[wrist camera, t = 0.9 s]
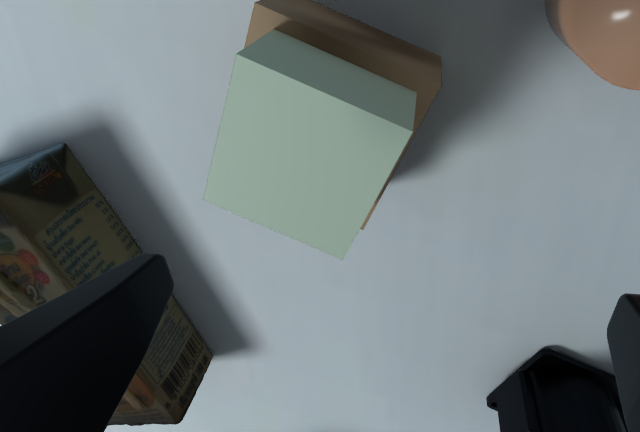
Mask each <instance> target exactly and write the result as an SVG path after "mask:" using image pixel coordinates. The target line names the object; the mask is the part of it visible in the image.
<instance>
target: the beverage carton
mask: <svg viewBox="0 0 640 432" xmlns="http://www.w3.org/2000/svg"><path fill="white" fill-rule="evenodd" d="M140 254H142V251H141V250H140V249H139V247H138V246H137V244H136V243H135V241H134V240H133V238H132V237H131V235H130V234H129V232H128V231H127V230H126V228H125V227H124V225H123V224H122V222H121V221H120V219H119V218H118V216H117V215H116V214H115V212H114V211H113V210H112V208H111V207H110V205H109V204H108V202H107V200H106V199H105V198H104V196H103V195H102V194H101V192H100V191H99V190H98V188H97V187H96V186H95V184H94V183H93V182H92V180H91V179H90V178H89V176H88V175H87V173H86V172H85V170H84V169H83V168H82V166H81V165H80V163H79V162H78V161H77V159H76V158H75V157H74V155H73V154H72V152H71V151H70V149H69V148H68V146H67V145H66V144H65V143H60V144H58V145H55V146H53V147H51V148H48V149H45V150H43V151H40V152H37V153H34V154H31V155H28V156H25V157H21V158H18V159H15V160H12V161H9V162H6V163H3V164H0V324H1V325H4V324H6V323H8V322H10V321H12V320H14V319H16V318H18V317H20V316H21V315H23V314H25V313H27V312H29V311H31V310H33V309H35V308H37V307H39V306H41V305H43V304H45V303H47V302H49V301H51V300H53V299H54V298H56V297H58V296H60V295H62V294H64V293H66V292H68V291H70V290H72V289H74V288H76V287H78V286H80V285H82V284H84V283H85V282H87V281H89V280H91V279H93V278H95V277H97V276H99V275H101V274H103V273H105V272H107V271H109V270H111V269H113V268H115V267H116V266H118V265H120V264H122V263H124V262H126V261H128V260H130V259H132V258H134V257H136V256H138V255H140ZM212 357H213V355H212V354H211V353H210V351H209V350H208V348H207V346H206V345H205V343H204V342H203V340H202V339H201V338H200V336H199V335H198V333H197V332H196V330H195V329H194V327H193V326H192V325H191V323H190V322H189V320H188V319H187V317H186V316H185V314H184V313H183V311H182V310H181V308H180V307H179V305H178V304H177V303H176V301H175V300H174V298H173V297H172V295H171V297H170V299H169V301H168V304H167V306H166V309H165V311H164V313H163V316H162V318H161V321H160V323H159V325H158V328H157V330H156V332H155V335H154V337H153V340H152V342H151V344H150V346H149V349H148V351H147V353H146V355H145V357H144V359H143V361H142V363H141V364H140V366H139V368H138V370H137V372H136V374H135V375H134V377H133V379H132V381H131V383H130V385H129V387H128V388H127V390H126V392H125V394H124V396H123V398H122V399H121V401H120V403H119V405H118V407H117V409H116V410H115V412H114V414H113V416H112V418H111V420H110V422H109V423H108V425H124V424H128V425H130V426H134V425H144V424H178V423H180V422H181V421H182V420H183V418H184V416H185V414H186V412H187V410H188V408H189V406H190V404H191V402H192V400H193V398H194V396H195V394H196V391H197V389H198V387H199V386H200V384H201V382H202V380H203V377H204V374H205V373H206V371H207V369H208V367H209V365H210V362H211V360H212ZM108 425H107V426H108Z"/></svg>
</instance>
